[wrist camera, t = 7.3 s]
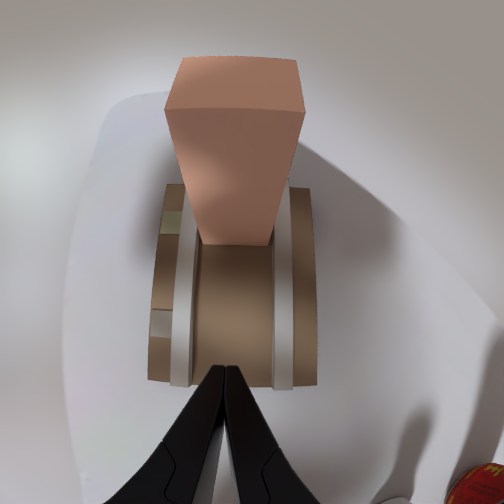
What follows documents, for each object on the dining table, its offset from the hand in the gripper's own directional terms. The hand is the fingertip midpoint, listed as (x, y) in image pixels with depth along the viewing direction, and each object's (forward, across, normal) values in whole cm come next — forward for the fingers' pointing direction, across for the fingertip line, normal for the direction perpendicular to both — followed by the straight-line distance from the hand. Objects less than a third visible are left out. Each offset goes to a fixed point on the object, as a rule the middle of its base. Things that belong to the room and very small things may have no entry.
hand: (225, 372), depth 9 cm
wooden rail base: (+10, 0, +2) cm, 10 cm away
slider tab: (+11, 0, -1) cm, 11 cm away
